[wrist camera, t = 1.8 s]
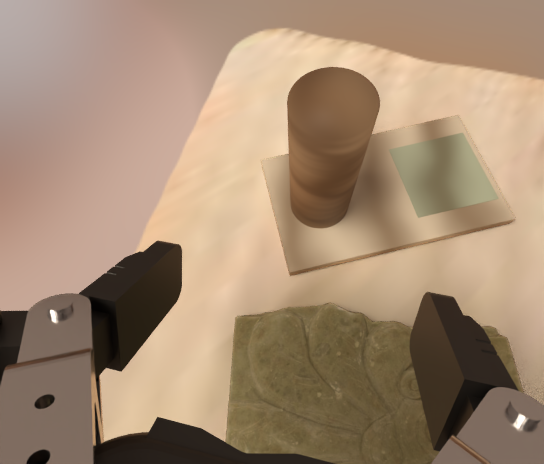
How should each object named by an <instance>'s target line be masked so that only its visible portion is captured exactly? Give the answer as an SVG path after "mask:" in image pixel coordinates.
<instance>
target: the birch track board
mask: <svg viewBox="0 0 544 464" xmlns="http://www.w3.org/2000/svg"><path fill="white" fill-rule="evenodd" d="M261 164H262V168H263V172H264V176H265V180H266V184H267V188H268V192H269V196H270V200H271V204H272V208H273V212H274V216H275V220H276V223H277V227H278V231H279V235H280V239H281V243H282V247H283V251H284V255H285V259H286V263H287V267H288V271H289V275H290V276H291V275H295V274H299V273H303V272H308V271H312V270H316V269H320V268H324V267H329V266H333V265H337V264H341V263H345V262H350V261H354V260H358V259H362V258H366V257H371V256H375V255H379V254H383V253H387V252H392V251H396V250H400V249H404V248H408V247H413V246H417V245H421V244H425V243H429V242H434V241H438V240H442V239H446V238H450V237H455V236H459V235H463V234H467V233H471V232H476V231H480V230H484V229H488V228H492V227H497V226H501V225H505V224H509V223H510V222H512V221H513V220H515V219H516V218H515V216H514V214H513V212H512V211H511V209H510V207H509V205H508V203H507V202H506V200H505V198H504V196H503V194H502V192H501V191H500V189H499V187H498V185H497V183H496V182H495V180H494V178H493V176H492V174H491V173H490V171H489V169H488V167H487V165H486V163H485V162H484V160H483V158H482V156H481V154H480V153H479V151H478V149H477V147H476V145H475V144H474V142H473V140H472V138H471V136H470V135H469V133H468V131H467V129H466V127H465V125H464V124H463V122H462V120H461V118H460V116H459V115H456V116H451V117H447V118H443V119H438V120H434V121H430V122H425V123H421V124H416V125H412V126H408V127H403V128H399V129H395V130H390V131H386V132H381V133H377V134H373V135H371V137H370V141H369V144H368V147H367V150H366V153H365V156H364V160H363V163H362V166H361V169H360V172H359V175H358V179H357V182H356V185H355V188H354V191H353V194H352V198H351V201H350V204H349V207H348V210H347V213H346V215H345V216H344V218H343V219H342V220H341V221H340V222H339V223H337V224H335V225H334V226H331V227H328V228H320V229H319V228H312V227H309V226H306V225H304V224H303V223H301V222H300V221H299V220H298V219H297V218H296V217H295V215H294V214H293V212H292V209H291V205H290V174H289V154H285V155H281V156H276V157H272V158H267V159H263V160H261Z"/></svg>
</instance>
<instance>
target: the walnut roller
mask: <svg viewBox="0 0 544 464" xmlns="http://www.w3.org/2000/svg"><path fill="white" fill-rule="evenodd" d="M287 108H288V141H289V174H290V205H291V209H292V212H293V214H294V215H295V217H296V218H297V219H298V220H299V221H300V222H301V223H303V224H304V225H306V226H309V227H312V228H319V229H320V228H328V227H331V226H334V225H335V224H337V223H339V222H340V221H341V220H342V219H343V218H344V216H345V215H346V213H347V210H348V207H349V204H350V201H351V198H352V194H353V191H354V188H355V185H356V182H357V179H358V175H359V172H360V169H361V166H362V163H363V160H364V156H365V153H366V150H367V147H368V144H369V141H370V137H371V134H372V131H373V128H374V125H375V122H376V118H377V115H378V112H379V108H380V99H379V95H378V92H377V90H376V88H375V87H374V85H373V84H372V83H371V82H370V81H369V80H368V79H367V78H366V77H364V76H363V75H361V74H360V73H357V72H355V71H353V70H350V69H345V68H339V67H327V68H321V69H317V70H314V71H311V72H309V73H307V74H305V75H304V76H302V77H301V78H300V79H299V80H297V81H296V83H295V84H294V85H293V87H292V88H291V90H290V92H289V95H288V101H287Z"/></svg>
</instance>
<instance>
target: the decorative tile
mask: <svg viewBox="0 0 544 464" xmlns="http://www.w3.org/2000/svg"><path fill="white" fill-rule="evenodd" d="M482 328H483V329H484V330H485V332H486V334H487V336H488V337H489V339H490V341H491V344H492V345H493V346H494V348H495V350H496V352H497V355H498V356H499V357H500V359H501V360H502V362H503V364H504V366H505V367H506V369H507V371H508V373H509V374H510V376H511V378H512V380H513V381H514V383H515V385H516V387H517V388H518V390H519V391H520V392H522V393H524V392H523V389H522V385H521V382H520V378H519V375H518V372H517V368H516V365H515V362H514V359H513V355H512V352H511V348H510V345H509V342H508V339H507V337H503V336H502V335H499V334H498V332H497V330H496V328H493V327H491V326H485V327H482ZM412 329H413V327H407V326H405V325H403V324H401V323H399V322H395V321H390V322H382V321H381V322H372V321H371V320H370V319H368V318H367V317H366V316H365V315H364V314H362V313H355V312H350V311H347V310H345V309H343V308H341V307H339V306H337V305H335V304H332V303H327V304H324V305H321V306H310V307H296V308H293V307H288V308H284V309H281V310H278V311H274V312H265V313H262V314H257V315H244V316H237V317H236V319H235V329H234V339H233V353H232V366H231V381H230V394H229V405H228V418H227V432H226V443H227V444H229V445H231V446H233V447H234V448H236V449H238V450H240V451H242V452H244V453H270V454H301V455H304V456H308V457H312V458H316V459H320V460H323V461H327V462H331V463H335V464H431V463H432V462H433V460H434V459H435V458H436V456H437V455H438V454H439V452H440V451H436V450H433V446H432V442H431V438H430V434H429V430H428V425H427V421H426V417H425V413H424V409H423V405H422V400H421V396H420V392H419V388H418V384H417V380H416V375H415V371H414V367H413V363H412V359H411V355H410V347H409V346H410V336H411V332H412Z"/></svg>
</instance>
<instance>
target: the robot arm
mask: <svg viewBox="0 0 544 464" xmlns="http://www.w3.org/2000/svg"><path fill="white" fill-rule="evenodd" d="M181 287H182V249H181V246H180V245H179V244H173V243H168V242H163V241H156V242H155V243H154V244H152V245H151V246H150V247H149V248H148V249H146V250H145V251H144V252H138V253H135V254H133V255H130V256H128V257H125V258H124V259H123V260H121V261H120V262H119V263H118V264H116V265H115V267H113V268H111V269H110V270H109V271H107V273H106V274H103V275H102V276H101V277H100V278H98V279H97V280H96V281H94V282H93V283H92V284H90V285H89V286H88V287H86V288H85V289H84V290H83V291H81V292H80V293H79V294H59V295H55V296H51V297H49V298H46V299H43V300H41V301H39V302H38V303H36V304H35V305H34V306H33V307H31V309H30V310H29V311H0V464H335V463H331V462H327V461H323V460H320V459H316V458H312V457H308V456H304V455H301V454H270V453H244V452H242V451H240V450H238V449H236V448H234V447H233V446H231V445H229V444H227V443H226V442H224V441H222V440H220V439H219V438H217V437H215V436H214V435H212V434H210V433H208V432H207V431H205V430H203V429H201V428H198V427H194V426H190V425H186V424H182V423H178V422H175V421H171V420H167V419H163V418H159V417H157V419H156V421H155V422H154V424H153V426H152V428H151V429H150V431H149V432H142V433H134V434H128V435H124V436H120V437H117V438H114V439H111V440H108V441H105V442H104V435H103V417H102V399H101V382H100V374H101V373H102V372H103V371H104V369H105V368H109V369H113V370H117V371H122V370H123V369H124V368H125V366H126V365H127V364H128V363H129V361H130V360H131V359H132V358H133V356H134V355H135V354H136V352H137V351H138V350H139V349H140V347H141V346H142V345H143V344H144V342H145V341H146V340H147V339H148V337H149V336H150V335H151V333H152V332H153V331H154V330H155V328H156V327H157V326H158V325H159V323H160V322H161V321H162V320H163V318H164V317H165V316H166V314H167V313H168V312H169V311H170V309H171V308H172V307H173V306H174V304H175V303H176V302H177V300H178V298H179V295H180V292H181ZM409 347H410V355H411V359H412V363H413V367H414V371H415V375H416V380H417V384H418V388H419V392H420V396H421V400H422V405H423V409H424V413H425V417H426V421H427V425H428V430H429V434H430V438H431V442H432V446H433V450H436V451H440V452H439V454H438V455H437V456H436V458H435V459H434V460H433V462H432V463H431V464H544V406H543V405H542V404H541V403H539V402H538V401H537V400H535V399H533V398H532V397H530V396H528V395H526V394H524V393H522V392H520V391H519V390H518V388H517V387H516V385H515V383H514V381H513V380H512V378H511V376H510V374H509V373H508V371H507V369H506V367H505V366H504V364H503V362H502V360H501V359H500V357H499V356H498V355H497V352H496V350H495V348H494V346H493V345H492V344H491V341H490V339H489V337H488V336H487V334H486V332H485V330H484V329H483V328H482V327H481V326H480V325H479V324H478V323H477V322H475V321H474V320H473V319H472V318H471V317H470V316H465V315H463V314H462V312H461V310H460V308H459V306H458V304H457V302H456V300H455V299H454V297H451V296H446V295H441V294H435V293H430V292H426V293H425V295H424V296H423V299H422V302H421V305H420V308H419V311H418V314H417V317H416V320H415V323H414V326H413V329H412V332H411V336H410V346H409Z"/></svg>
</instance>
